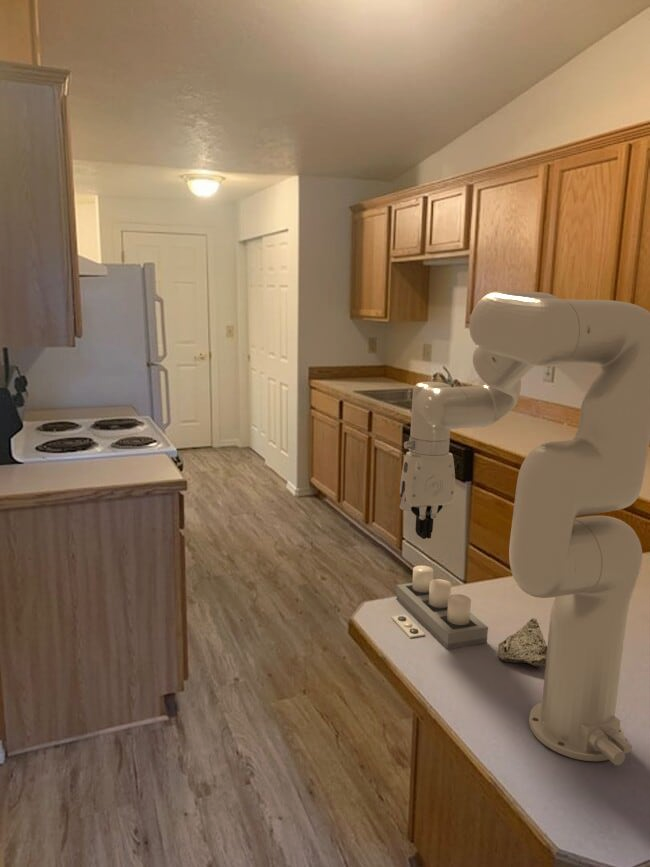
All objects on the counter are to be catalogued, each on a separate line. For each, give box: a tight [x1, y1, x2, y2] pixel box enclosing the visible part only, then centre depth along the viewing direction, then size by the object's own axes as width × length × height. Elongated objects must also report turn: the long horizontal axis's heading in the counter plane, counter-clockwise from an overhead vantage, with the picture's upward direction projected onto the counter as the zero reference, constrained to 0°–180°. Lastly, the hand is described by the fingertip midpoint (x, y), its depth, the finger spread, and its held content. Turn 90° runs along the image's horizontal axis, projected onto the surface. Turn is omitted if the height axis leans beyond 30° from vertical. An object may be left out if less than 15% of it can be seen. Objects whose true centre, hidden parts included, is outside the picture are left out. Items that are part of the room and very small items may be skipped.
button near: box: [447, 593, 472, 625], centre depth 117 cm, size 4×4×4 cm
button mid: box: [429, 578, 452, 608], centre depth 123 cm, size 4×4×4 cm
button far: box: [411, 565, 434, 592], centre depth 130 cm, size 4×4×4 cm
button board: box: [395, 582, 489, 650], centre depth 124 cm, size 21×8×3 cm, turn 19°
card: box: [391, 614, 426, 639], centre depth 121 cm, size 8×3×1 cm, turn 19°
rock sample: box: [497, 617, 548, 668], centre depth 110 cm, size 10×8×9 cm
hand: (423, 536), depth 128 cm, fingers closed
